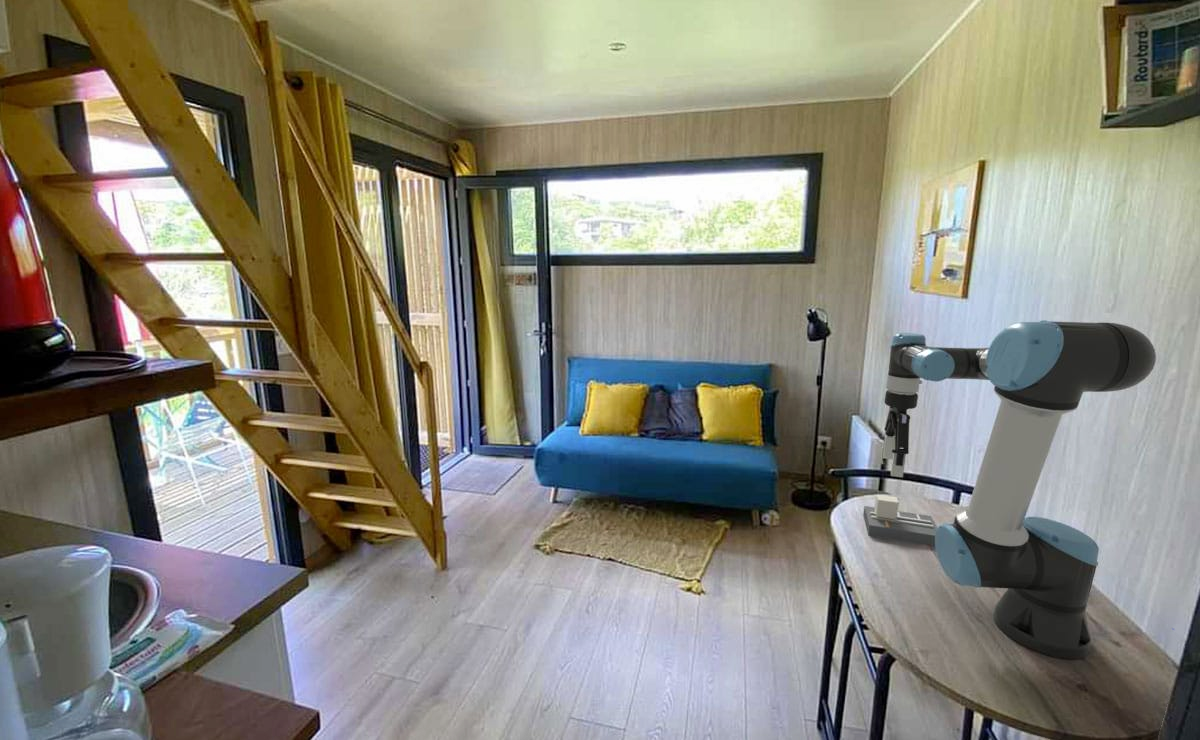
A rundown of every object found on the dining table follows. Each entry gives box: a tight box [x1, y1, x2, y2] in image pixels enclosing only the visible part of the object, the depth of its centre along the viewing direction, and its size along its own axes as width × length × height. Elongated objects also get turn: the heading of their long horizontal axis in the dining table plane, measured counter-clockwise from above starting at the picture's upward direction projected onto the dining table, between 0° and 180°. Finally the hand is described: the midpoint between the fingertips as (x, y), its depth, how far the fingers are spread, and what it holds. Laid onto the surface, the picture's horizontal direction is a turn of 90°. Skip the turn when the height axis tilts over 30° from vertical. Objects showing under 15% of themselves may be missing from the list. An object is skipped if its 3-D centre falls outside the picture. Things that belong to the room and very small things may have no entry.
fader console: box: [862, 505, 938, 547], centre depth 147 cm, size 12×17×4 cm
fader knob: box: [874, 494, 900, 519], centre depth 147 cm, size 4×5×6 cm
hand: (892, 467), depth 144 cm, fingers open, 13 cm apart
